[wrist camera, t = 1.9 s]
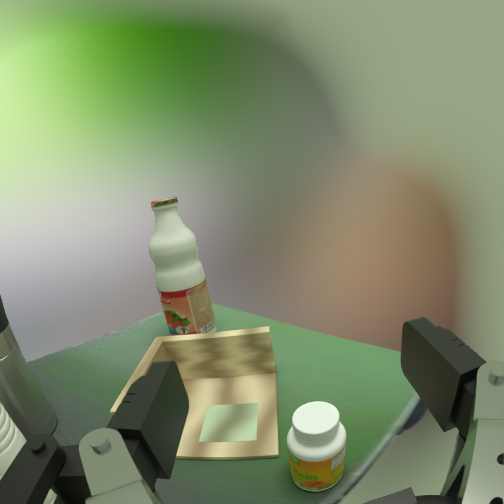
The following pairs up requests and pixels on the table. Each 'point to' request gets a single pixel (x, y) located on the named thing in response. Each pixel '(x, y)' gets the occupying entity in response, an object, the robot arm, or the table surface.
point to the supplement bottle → (316, 446)
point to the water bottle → (13, 446)
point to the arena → (222, 392)
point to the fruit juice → (179, 273)
